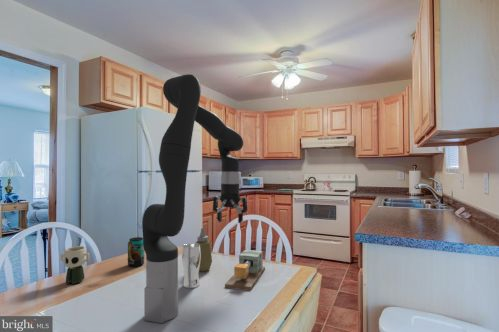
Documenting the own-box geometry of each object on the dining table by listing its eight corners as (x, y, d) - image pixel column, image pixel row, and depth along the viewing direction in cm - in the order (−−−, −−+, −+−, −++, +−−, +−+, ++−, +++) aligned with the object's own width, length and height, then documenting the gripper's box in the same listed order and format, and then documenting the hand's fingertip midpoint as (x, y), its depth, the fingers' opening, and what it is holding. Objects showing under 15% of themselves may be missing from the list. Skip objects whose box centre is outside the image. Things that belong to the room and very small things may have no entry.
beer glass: (196, 289, 104) (196, 248, 104) (178, 288, 105) (178, 247, 105) (203, 282, 111) (203, 243, 111) (186, 280, 112) (186, 242, 112)
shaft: (245, 278, 106) (245, 268, 106) (234, 277, 107) (234, 266, 107) (260, 260, 127) (260, 251, 127) (250, 259, 128) (250, 250, 128)
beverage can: (124, 266, 128) (124, 240, 128) (134, 261, 135) (134, 236, 135) (137, 268, 126) (137, 241, 126) (147, 263, 133) (147, 237, 133)
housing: (250, 290, 103) (250, 268, 103) (224, 287, 106) (224, 265, 106) (265, 269, 124) (265, 251, 124) (243, 267, 127) (243, 249, 127)
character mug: (55, 285, 107) (55, 251, 108) (66, 278, 115) (66, 246, 115) (84, 285, 108) (84, 251, 108) (94, 278, 115) (94, 245, 115)
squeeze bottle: (210, 273, 120) (210, 230, 120) (191, 273, 120) (191, 230, 120) (213, 266, 128) (213, 226, 128) (195, 266, 128) (195, 226, 128)
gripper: (210, 182, 115) (210, 223, 115) (244, 183, 112) (244, 224, 111) (217, 182, 123) (217, 219, 122) (249, 182, 119) (249, 221, 119)
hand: (230, 222), depth 117 cm, fingers open, 8 cm apart
